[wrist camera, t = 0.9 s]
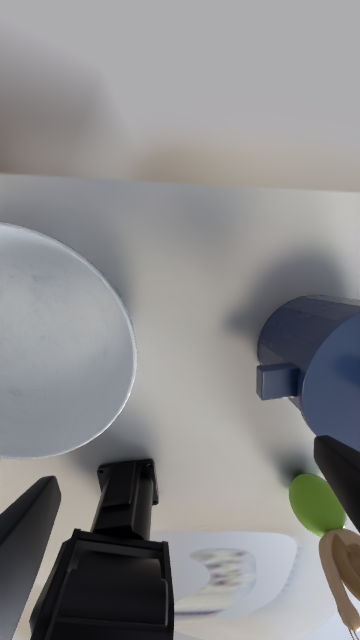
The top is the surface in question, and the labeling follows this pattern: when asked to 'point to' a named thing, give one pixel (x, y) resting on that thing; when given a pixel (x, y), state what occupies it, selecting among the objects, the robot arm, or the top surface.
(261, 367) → the pot
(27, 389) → the chinaware
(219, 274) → the top surface
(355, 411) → the pot lid
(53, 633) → the robot arm
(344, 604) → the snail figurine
